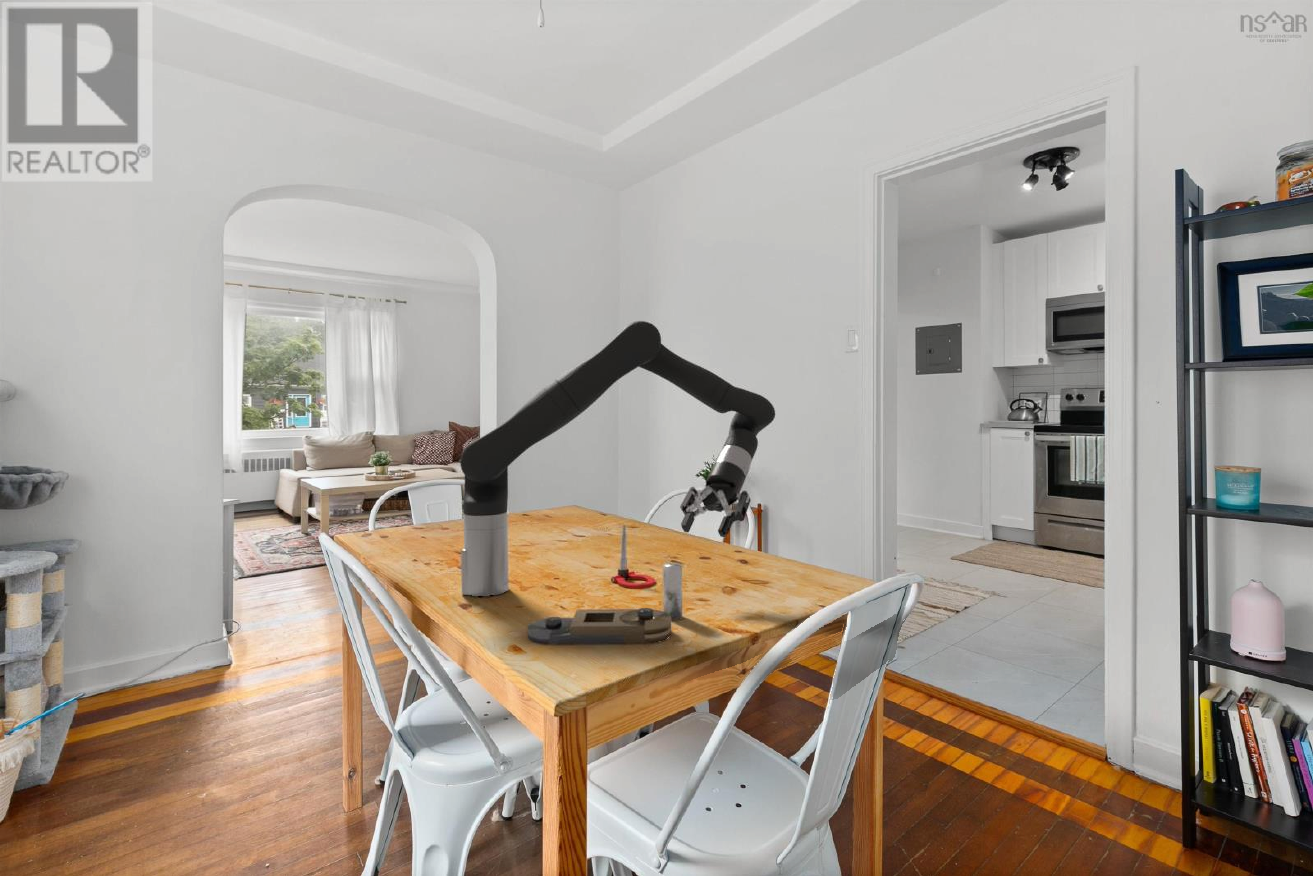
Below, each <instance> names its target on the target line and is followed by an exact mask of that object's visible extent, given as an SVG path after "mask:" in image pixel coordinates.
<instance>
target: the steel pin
mask: <svg viewBox="0 0 1313 876" xmlns="http://www.w3.org/2000/svg"><path fill="white" fill-rule="evenodd" d="M662 600H663V601H662V605H663V606H662V607H663V608H662V609H663V610H662V611H664V612H666V613H668V614H670V616H671V621H678V620H677V619H680V618H682V619H683V564H682V563H681V562H665V563H663V564H662ZM680 620H681V619H680Z"/></svg>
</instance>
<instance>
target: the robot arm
mask: <svg viewBox="0 0 1313 876" xmlns="http://www.w3.org/2000/svg"><path fill="white" fill-rule="evenodd" d="M638 368H641V369H644V370H646V371H648V372H649V373H652V374H655V375H657V376H659V377H661V378H662V379H663V380H666V381H668V382H669V383H671V384H673V385H675V386H676V387H678V389H679V388H680V389H681V390H682V391H684V392H685V393H687V394H688V395H690V396H691V397H693V398H694V399H696V400H697V401H699V402H700V403H702V404H704V405H706V406H707V407H708V408H710V409H712V410H714V411H715V412H717V413H719V414H725V413H728V412H735V414H734V416H733V417H732V419H731V422H730V425H729V430H728V436H727V438H726V440H725V442H724V444H723V447H722V448H721V450H720V452H719V453H718V454H717V456H716V458H715V461H714V463H713V464H712V467H711V468H710V472H709V474H708V476H707V478H706V482H705V486H704V487H703V488H702V489H696V487H694V486H691V487H690V488H689V489H688V491H687V493H686V495H685V497H684V499H683V501H682V502H681V504H680V506H679V508H680V510H681V511H682V513H683V514H684V516H683V519H682V521H681V522H680V526H681V529H682V530H683V532H684V533H689V532H690V531H691V529H692V526H693V524H694V522H695V518H696V517H698V516H700V515H703V514H705V513H706V512H714V511H716V512H719V513H722V512H723V511H724V514H725V516H723V518H722V520H721V521H720V525H719V527H718V530H717V533H718V535H719V536H720V537H721V538H725V537H726V536H727V535H728V534H729V533H730V531H731V529H732V526H733V524H734V523H735V522H736V521H739V522H743V521H744V520H745V519H746V515H747V512H748V510H749V507H750V503H751V497H750V496H749V494H748V491H747V490H743V491H742V488H743V486H744V484H745V481H746V479H747V477H748V475H749V471H750V469H751V464H752V461H753V458H754V456H755V454H756V452H757V449H758V446H759V441H758V438H757V436H758V434H759V433H761V431H762V430H764V429H765V428H767V426H769V425H770V424H771V423H772V422H773V421H774V419H775V417H776V410H775V407H774V405H773V404H772V402H771V401H770V400H769V399H768V398H766V397H764V396H763V395H761V394H758V393H756V392H753V391H750V390H747V389H744V388H741V387H737V386H735V385H733V384H731V383H729V382H728V381H727V380H725V379H724V378H722V377H720V376H719V375H717V374H715V373H714V372H712V371H710V370H708V369H706V368H704V367H702V366H700V365H697V364H696V363H693V362H691V361H690V360H687V359H685V358H683V357H681V356H679V355H678V354H676V353H674V352H673V351H671V350H670V349H669V348H667V346H665V345H664V344H662V336H661V333H660V330H659V329H658V327H656V326H655V325H654V324H652V323H651V322H648V321H644V320H638V321H633V322H630V323H628V324H627V325H626V326H624V328H623V329H622V330H621V331H620V332H618V334H617V335H615V337H614V338H613V339H611V341H609V342H608V343H607V344H606V345H604V347H602V349H600V350H599V351H598V352H596V353H594V355H592V356H590V357H589V358H588V359H586V360H584V361H582V362H580V363H579V364H577V365H576V366H574V367H572V368H571V369H569V370H567V371H566V372H564V373H563V374H561V375H560V376H558V377H557V378H556V379H553V381H551V382H550V383H548V384H547V385H546V386H544V388H542V389H540V390H539V391H538V392H537V393H536V394H534V395H533V397H531V398H530V399H529V400H528V401H527V402H525V403H524V404H523V406H521V407H520V408H519V410H517V412H515V414H513V415H512V416H511V417H510V418H509V419H507V420H506V421H505V422H503V423H502V424H500V425H499V426H497V427H495V429H493V430H491V431H489V432H488V433H486V434H485V435H483V436H480V437H479V438H477V439H475V440H473V441H471V442H469V443H468V444H467V445H466V446H465V448H463V451H462V453H461V455H460V460H459V461H460V463H459V464H460V468H461V470H462V474H463V475H464V494H463V501H462V510H463V512H462V513H463V514H462V515H463V516H462V517H463V548H462V549H461V550H460V562H461V563H460V565H461V595H464V596H467V595H468V596H470V595H472V596H471V597H478V596H483V597H491V596H490V595H493V596H497V595H501V594H504V592H505V593H506V591H507V592H508V591H509V589H510V588H509V587H510V583H509V581H510V579H509V536H508V535H509V531H508V526H509V525H508V523H509V522H508V498H509V482H508V481H509V479H508V478H509V477H508V475H509V472H508V471H509V470H508V468H509V466H510V465H512V463H513V462H515V460H516V459H518V458H519V457H520V456H521V455H522V454H523V453H524V452H526V451H527V450H528V449H529V448H531V447H533V446H534V445H536V444H537V443H539V442H541V441H543V440H544V439H546V438H547V437H550V436H551V435H552V434H554V433H555V432H557V431H559V430H560V429H562V428H564V427H565V426H567V425H568V424H569V423H570V422H572V421H573V420H574V419H576V418H577V417H579V415H581V414H582V413H584V412H585V411H586V410H587V409H588V408H590V407H591V405H593V404H594V403H595V402H596V401H597V400H598V399H600V397H602V395H604V393H605V392H607V391H608V390H609V389H610V388H611V387H612V386H613V385H614V384H615V383H616V382H617V381H618V380H620V379H622V378H623V377H625V376H627V374H629V373H630V372H632V371H634V370H636V369H638ZM702 503H703V506H701V504H702ZM735 503H737V504H736V507H735V510H734V511H733V510H732V506H733V504H735Z"/></svg>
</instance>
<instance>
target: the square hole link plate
mask: <svg viewBox="0 0 1313 876" xmlns="http://www.w3.org/2000/svg"><path fill="white" fill-rule="evenodd" d="M526 631H527V634H526V635H527V639H528V640H529V641H531V642H533V643H535V644H541V645H628V644H627V643H632V644H631V645H637V644H638V645H643V644H645V645H646V643H650V644H656V643H655V642H657V643H660V642H659V641H661V642H664V641H667V640H668V639H669V638H670V637H672V620H671V616H670V614H668V613H666V612H664V611H663V610H660V609H653V608H650V607H641V608H623V609H622V608H621V609H620V608H618V609H612V608H608V609H607V608H606V609H603V608H602V609H600V608H599V609H597V608H596V609H593V608H592V609H586V608H585V609H576V611H575V613H574V616H573V617H559V616H551V617H547V618H544V619H543V618H542V619H539V620H536V621H533V622H531V623H530V624H528V626H527V628H526ZM669 636H670V637H669ZM668 637H669V638H668ZM667 638H668V639H667ZM666 639H667V640H666Z"/></svg>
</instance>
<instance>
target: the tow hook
mask: <svg viewBox="0 0 1313 876" xmlns="http://www.w3.org/2000/svg"><path fill="white" fill-rule="evenodd" d="M620 537H621V540H620V541H621V546H620V547H621V550H620V551H621V552H620V558H619V568H618V569H617V575H615V576H611V577H610V581H611V583H612V582H613V584H615V583H617V584H618V585H619V586H620V587H623V588H626V587H627V588H626V589H635V588H636V589H645V588H646V587H647V588H650V587H653V586H655V584H656V579H655V577H652V576H651V575H646V574H641V573H640V574H639V573H638V574H637V573H636V572H635V571H632V570H631V571H630V569H629V568H628V558H627V542H628V541H627V540H628V539H627V537H628V535H627V526H626V525H625V524H622V534H621V536H620ZM629 579H630V580H642V581H645V582H641V583H640V582H639V583H637V582H635V583H634V582H633V583H632V582H629V581H626V580H629ZM649 586H650V587H649Z"/></svg>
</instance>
